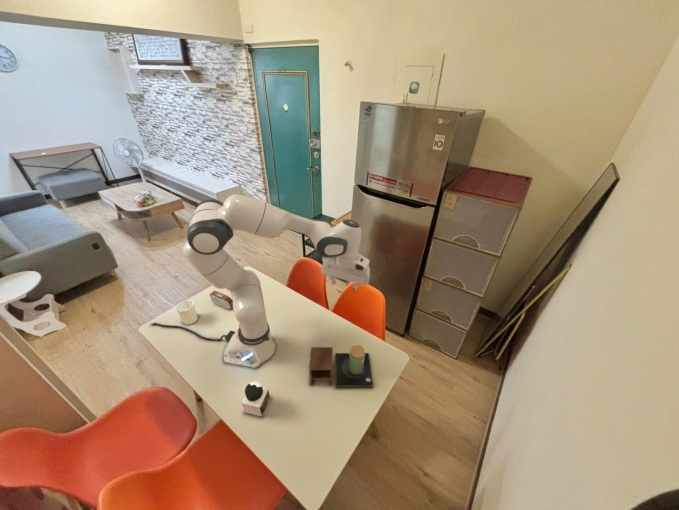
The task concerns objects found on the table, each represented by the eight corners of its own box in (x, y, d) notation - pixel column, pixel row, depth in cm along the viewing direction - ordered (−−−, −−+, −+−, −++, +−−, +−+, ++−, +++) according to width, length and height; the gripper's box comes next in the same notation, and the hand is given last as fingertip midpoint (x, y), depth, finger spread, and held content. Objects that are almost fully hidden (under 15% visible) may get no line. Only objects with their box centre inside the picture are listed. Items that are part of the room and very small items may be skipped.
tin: (236, 308, 142) (233, 296, 137) (231, 312, 140) (228, 300, 135) (215, 299, 147) (212, 288, 142) (211, 303, 145) (207, 291, 140)
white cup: (202, 318, 136) (197, 303, 130) (187, 327, 130) (181, 313, 125) (193, 311, 139) (187, 297, 134) (178, 321, 134) (172, 306, 128)
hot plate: (335, 388, 108) (335, 384, 106) (335, 355, 120) (335, 351, 118) (372, 387, 108) (373, 383, 106) (368, 355, 121) (368, 351, 119)
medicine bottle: (262, 417, 98) (257, 400, 91) (244, 412, 99) (238, 395, 92) (270, 398, 103) (266, 380, 97) (253, 394, 104) (248, 376, 98)
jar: (348, 374, 110) (350, 357, 104) (347, 360, 115) (349, 344, 109) (363, 374, 110) (366, 357, 104) (362, 360, 116) (364, 344, 109)
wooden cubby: (310, 384, 108) (309, 369, 102) (311, 362, 117) (311, 347, 111) (332, 384, 109) (332, 368, 103) (332, 362, 117) (332, 347, 111)
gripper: (319, 256, 104) (318, 284, 111) (370, 269, 100) (365, 297, 107) (325, 249, 110) (323, 276, 117) (373, 261, 105) (368, 288, 112)
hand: (344, 286), depth 112 cm, fingers open, 8 cm apart
